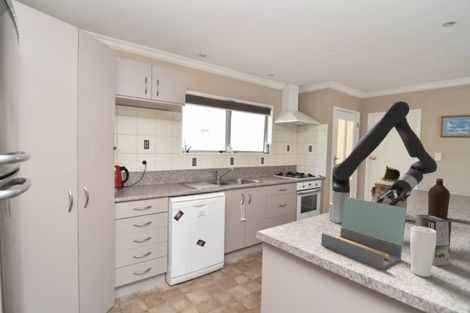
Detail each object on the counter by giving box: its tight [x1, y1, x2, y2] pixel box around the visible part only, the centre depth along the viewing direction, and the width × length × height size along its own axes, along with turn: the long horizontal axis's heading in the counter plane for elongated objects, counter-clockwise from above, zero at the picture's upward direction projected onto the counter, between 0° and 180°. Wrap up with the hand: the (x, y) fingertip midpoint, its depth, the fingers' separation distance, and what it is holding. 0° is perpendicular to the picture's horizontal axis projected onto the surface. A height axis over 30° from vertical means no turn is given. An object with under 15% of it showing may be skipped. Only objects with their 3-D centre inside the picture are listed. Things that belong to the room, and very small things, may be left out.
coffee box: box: [415, 214, 452, 266], centre depth 90 cm, size 9×6×16 cm
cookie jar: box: [370, 165, 416, 222], centre depth 154 cm, size 25×25×32 cm
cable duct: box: [320, 227, 403, 271], centre depth 95 cm, size 24×15×5 cm, turn 34°
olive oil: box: [427, 177, 451, 220], centre depth 152 cm, size 11×11×25 cm
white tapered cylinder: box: [409, 225, 436, 278], centre depth 79 cm, size 7×7×15 cm
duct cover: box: [341, 196, 408, 247], centre depth 100 cm, size 24×14×1 cm
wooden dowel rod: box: [335, 236, 390, 260], centre depth 95 cm, size 21×2×2 cm, turn 34°
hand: (383, 205), depth 113 cm, fingers open, 8 cm apart
